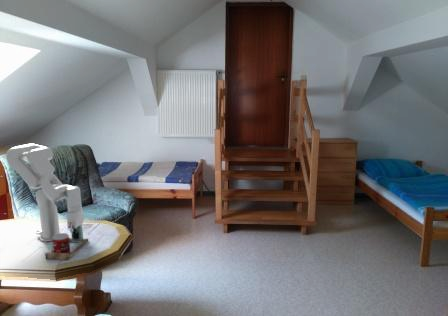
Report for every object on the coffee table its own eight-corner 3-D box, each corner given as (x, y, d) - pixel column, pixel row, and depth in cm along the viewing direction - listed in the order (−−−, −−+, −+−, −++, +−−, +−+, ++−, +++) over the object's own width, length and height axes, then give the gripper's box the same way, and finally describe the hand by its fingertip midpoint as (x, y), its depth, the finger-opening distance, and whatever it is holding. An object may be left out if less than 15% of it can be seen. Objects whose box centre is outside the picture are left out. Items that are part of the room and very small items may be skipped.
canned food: (57, 251, 194) (55, 233, 191) (72, 251, 194) (70, 232, 192) (51, 258, 186) (49, 239, 184) (67, 258, 187) (65, 238, 184)
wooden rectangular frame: (45, 258, 185) (43, 243, 184) (68, 240, 208) (67, 226, 206) (67, 260, 184) (66, 244, 182) (88, 241, 206) (87, 226, 204)
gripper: (75, 203, 210) (78, 231, 214) (60, 212, 195) (63, 243, 198) (87, 203, 209) (90, 232, 213) (73, 213, 194) (76, 244, 197)
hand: (77, 237), depth 206 cm, fingers closed on wooden rectangular frame, 2 cm apart
